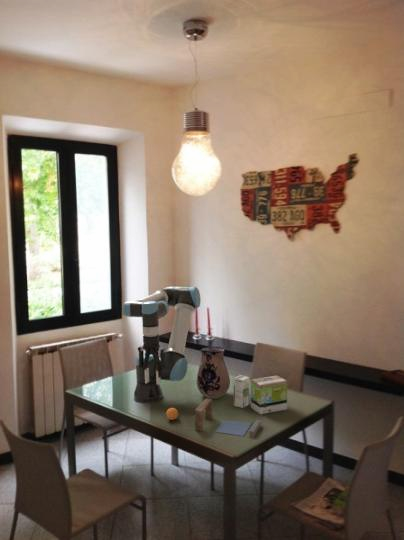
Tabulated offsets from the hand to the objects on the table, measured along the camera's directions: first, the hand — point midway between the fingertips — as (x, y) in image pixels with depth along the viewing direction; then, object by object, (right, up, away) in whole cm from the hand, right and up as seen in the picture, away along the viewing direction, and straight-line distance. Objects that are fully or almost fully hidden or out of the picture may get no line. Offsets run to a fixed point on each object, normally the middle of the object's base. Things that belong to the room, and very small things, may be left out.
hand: (152, 382), depth 231 cm
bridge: (+24, -17, -7) cm, 31 cm away
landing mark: (+37, -17, -12) cm, 43 cm away
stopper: (+47, -17, -16) cm, 52 cm away
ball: (+9, -14, -2) cm, 17 cm away
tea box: (+56, -15, +8) cm, 58 cm away
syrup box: (+43, -15, +13) cm, 47 cm away
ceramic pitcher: (+30, -13, +29) cm, 43 cm away
